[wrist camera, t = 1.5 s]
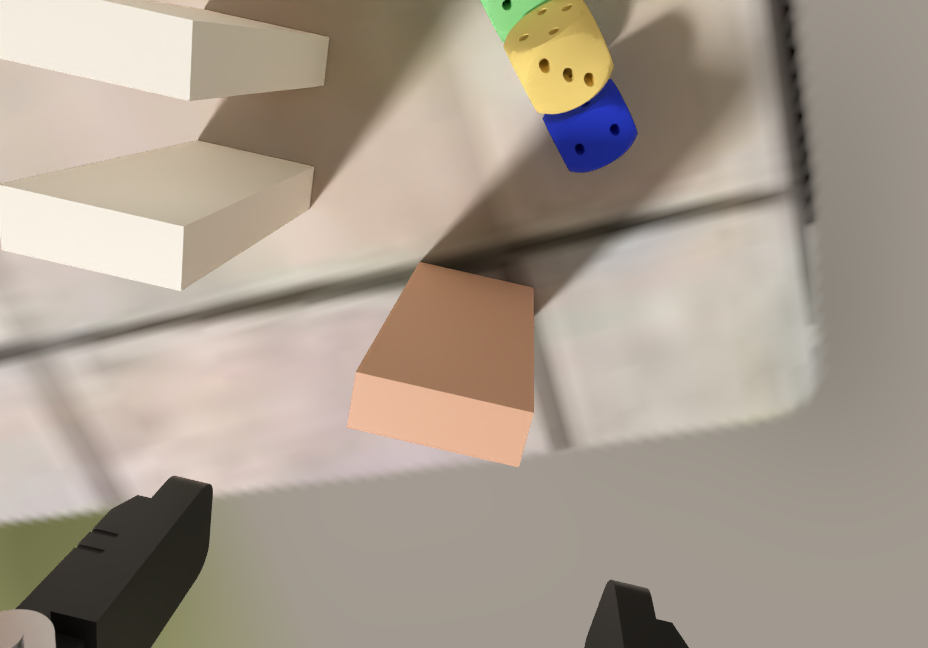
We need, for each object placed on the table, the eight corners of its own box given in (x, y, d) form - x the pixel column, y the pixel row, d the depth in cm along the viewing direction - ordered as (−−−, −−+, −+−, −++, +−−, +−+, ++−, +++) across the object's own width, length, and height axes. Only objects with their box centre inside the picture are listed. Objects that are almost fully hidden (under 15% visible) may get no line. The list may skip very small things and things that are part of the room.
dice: (631, 136, 26) (661, 157, 20) (570, 170, 26) (581, 200, 20) (535, -67, 24) (535, -111, 18) (471, -25, 24) (450, -53, 18)
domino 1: (203, 9, 26) (-17, -27, 15) (329, 37, 25) (192, 20, 15) (201, 58, 26) (-11, 56, 16) (323, 85, 26) (189, 101, 16)
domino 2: (196, 140, 27) (-3, 184, 17) (314, 166, 27) (183, 226, 17) (194, 183, 28) (1, 249, 18) (309, 208, 28) (180, 290, 18)
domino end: (419, 261, 28) (355, 371, 18) (533, 287, 28) (533, 413, 18) (412, 300, 29) (346, 427, 19) (523, 326, 29) (518, 467, 19)
